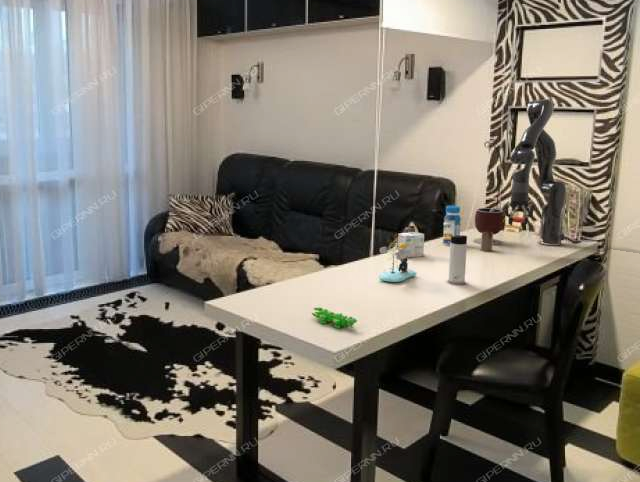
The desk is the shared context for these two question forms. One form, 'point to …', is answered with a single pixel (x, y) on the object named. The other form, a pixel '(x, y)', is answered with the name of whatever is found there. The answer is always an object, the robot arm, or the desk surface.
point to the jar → (487, 241)
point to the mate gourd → (489, 221)
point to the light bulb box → (412, 243)
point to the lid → (518, 219)
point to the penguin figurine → (400, 272)
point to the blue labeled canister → (451, 223)
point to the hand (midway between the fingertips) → (517, 225)
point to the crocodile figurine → (334, 318)
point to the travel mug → (457, 259)
